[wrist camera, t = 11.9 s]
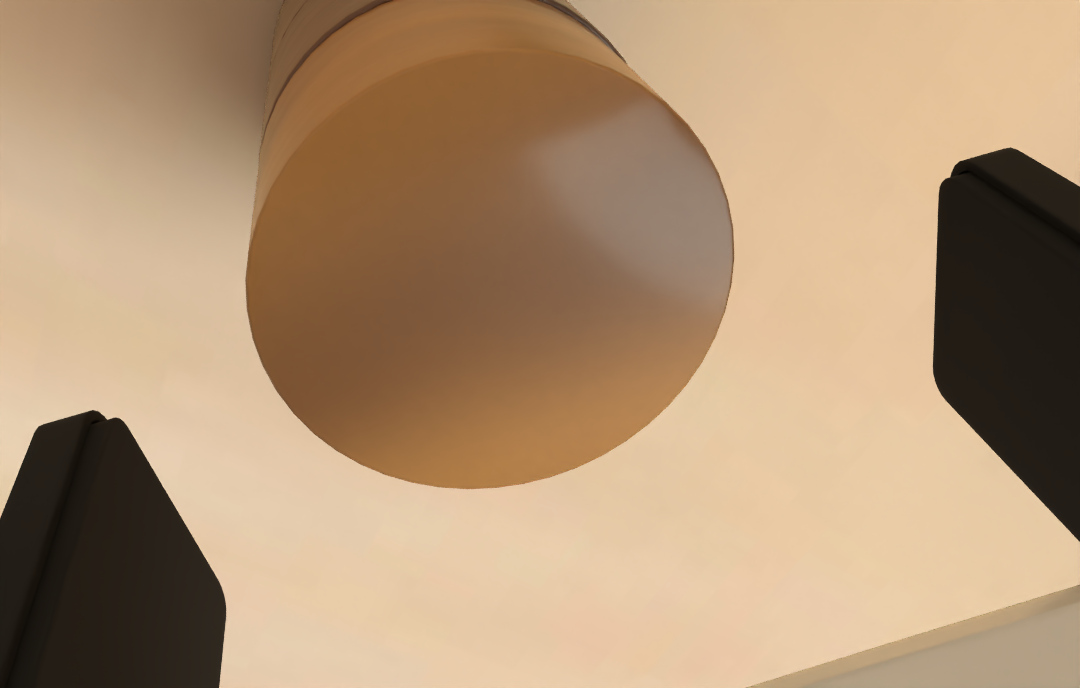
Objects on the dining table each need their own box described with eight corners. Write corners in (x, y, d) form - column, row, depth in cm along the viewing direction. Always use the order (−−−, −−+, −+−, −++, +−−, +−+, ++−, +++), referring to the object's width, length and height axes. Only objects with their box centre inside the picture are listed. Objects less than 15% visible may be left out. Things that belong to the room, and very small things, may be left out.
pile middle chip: (188, 104, 19) (164, 176, 16) (463, -142, 17) (497, -120, 14) (423, 327, 22) (442, 422, 19) (664, 136, 21) (726, 203, 18)
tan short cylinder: (188, 52, 15) (156, 135, 12) (623, -64, 15) (707, -16, 12) (336, 407, 19) (342, 541, 15) (680, 305, 19) (754, 416, 16)
